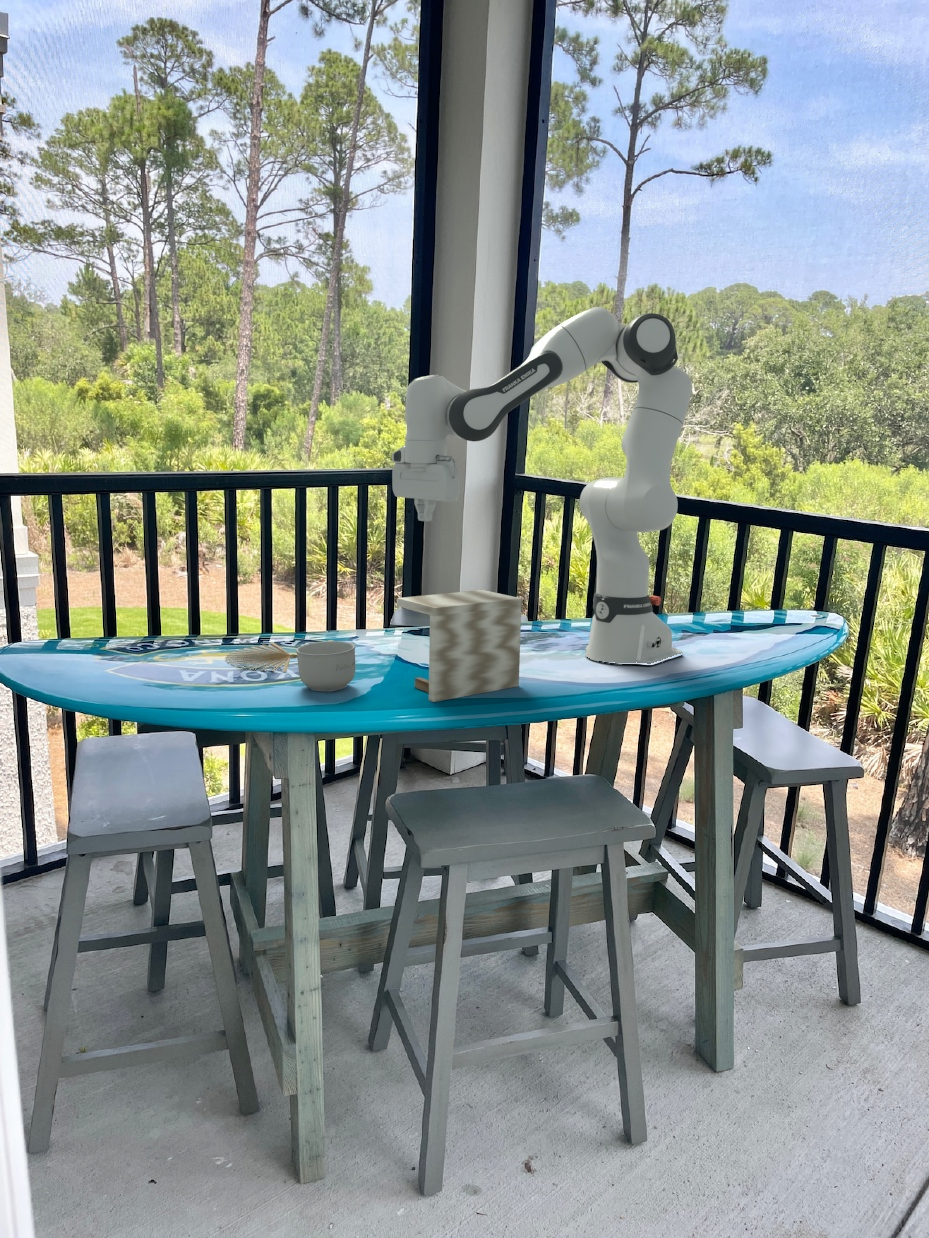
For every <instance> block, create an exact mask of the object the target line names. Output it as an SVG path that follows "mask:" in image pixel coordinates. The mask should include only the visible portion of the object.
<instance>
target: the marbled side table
mask: <svg viewBox="0 0 929 1238" xmlns="http://www.w3.org/2000/svg"><path fill="white" fill-rule="evenodd" d="M396 599H397V600H396V602H397V603H396V605H397V607H399V608H403V609H405V610H406V609H407V610H409V611H413V612H417V613H421V614H425V615H428V616H429V644H428V645H429V649H428V650H429V652H428V654H429V655H428V656H429V660H428V662H429V663H428V679H426V678H423V677H421V676H419V677H415V678H414V688H416V689H418V690H421V691H423V692H425V693H428V701H430V702H432V703H436V702H441V701H445V700H447V701H448V700H452V699H458V698H463V697H468V696H473V695H478V694H483V693H490V692H495V691H501V690H505V689H510V688H516V687H519V684H520V662H521V661H520V660H521V655H520V654H521V633H522V631H521V630H522V625H521V624H522V605H523V604H522V603H523V602H522V599H523V598H521V597H516V596H512V595H507V594H504V593H503V594H502V593H498V592H495V591H494V592H493V591H490V590H484V589H476V590H466V591H458V592H457V591H456V592H447V593H446V592H445V593H436V594H426V595H416V596H406V597H397V598H396Z"/></svg>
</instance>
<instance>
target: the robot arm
mask: <svg viewBox="0 0 929 1238" xmlns="http://www.w3.org/2000/svg"><path fill="white" fill-rule="evenodd" d="M676 343H677V339H676V333H675V329H674V326H673V324H672V322H671V321H670V320H668V318H666V317H665V316H663V315H661V314H659V313H655V312H653V313H652V312H651V313H650V312H649V313H644V314H640V315H638V316H636V317H634V318H633V319H632V320H630V322H629V323H628V325H627V326H626V324H625V325H624V324H622V323H620V322H619V321H618V319H617V318H616V317H615V316H614V314H613V313H612V312H611V311H610V310H608V309H607V308H604V307H601V306H594V307H591V308H589V309H586V310H584V311H582V312H580V313H578V314H575V315H573V316H572V317H570V318H568V319H566V320H564V321H562V322H561V323H559V324H557V325H556V326H555V327H553V328H552V329H550V330H548V332H547V333H545V334H544V335H542V337H540V338H539V339H538V340H537V342H536V343H535V344H534V345H532V347H531V349H530V353H529V355H528V356H527V358H526V360H525V361H524V362H522V363H521V364H520V365H519V366H518V367H516V368H515V369H513V370H512V371H510V372H509V373H508V374H505V375H504V376H503V377H501V378H500V379H499V380H497V381H496V382H495V383H492V384H490V385H489V386H486V387H479V388H473V389H468V390H465V389H464V388H461V387H459V386H457V385H456V384H454V383H452V382H451V381H449V380H448V379H446V378H445V376H444V375H441V374H432V375H426V376H420V377H417V378H414V379H413V380H412V381H411V382H410V383H408V384H409V385H408V386H407V388H406V389H407V390H406V395H405V407H404V409H405V411H404V420H405V425H406V434H405V437H404V445H403V446H401V447H400V448H398V449H396V450H395V451H393V452H392V453H391V461H392V463H394V465H393V467H392V473H391V474H392V476H391V477H392V478H391V479H392V480H391V481H392V483H391V484H392V486H391V487H392V492H393V495H394V496H395V497H397V498H405V499H414V502H413V503H414V506H415V510H416V512H417V521H421V522H432V521H433V514H434V511H435V508H436V506H437V501H438V502H447V503H449V502H458V500H459V498H460V494H461V492H460V488H461V487H460V486H461V485H460V475H459V470H458V467H457V462H456V461H455V459H454V458H453V456H451V455H448V448H447V447H448V437H449V436H451V437H452V436H453V437H456V438H458V439H461V440H464V441H468V442H480V441H484V440H487V439H488V438H489V437H490V436H492V435H493V434H494V433H495V432H496V430H497V429H498V428H499V426H500V424H501V423H502V421H503V420H504V418H505V417H506V415H507V414H509V412H511V411H512V410H513V409H515V408H517V407H518V406H519V405H521V404H522V403H524V402H526V401H527V400H528V399H530V398H531V397H533V396H534V395H536V394H537V393H540V392H541V391H543V390H545V389H549V388H552V387H557V386H559V385H562V384H564V383H566V382H569V381H571V380H574V378H576V377H578V376H580V375H581V374H583V373H585V372H587V370H589V369H591V368H592V367H593V366H595V365H596V364H598V363H601V364H602V365H603V366H605V367H606V368H607V370H609V371H610V372H611V373H612V374H613V375H614V376H615V378H618V380H620V381H622V382H624V383H628V384H629V383H630V384H635V383H638V393H637V398H636V401H635V403H634V405H633V408H632V411H631V414H630V416H629V419H628V421H627V425H626V427H625V431H624V433H623V435H622V438H621V439H622V440H621V447H620V448H621V450H622V452H623V453H624V455H625V458H626V465H625V466H626V467H625V472H624V476H623V477H612V476H607V477H602V478H599V479H595V480H593V481H590V482H589V483H587V484H586V486H584V487H583V489H582V491H581V493H580V496H579V508H580V511H581V514H582V516H583V517H584V518H585V519H586V521H587V523H588V526H589V528H590V530H591V533H592V538H593V542H594V547H595V551H596V553H595V554H596V588H595V590H596V591H595V592H594V594H593V599H592V601H593V604H592V609H593V610H594V614H593V616H592V619H591V625H590V631H589V638H588V644H587V645H586V646H585V651H586V650H587V651H586V652H585V655H586V656H585V657H586V658H587V657H588V658H587V659H589V658H590V659H589V660H592V661H596V662H599V661H605V662H615V663H636V662H637V663H647V664H651V663H654V662H657V661H661V660H663V659H666V658H668V657H672V656H674V655H677V654H681V653H682V654H683V651H682V650H680V649H678V648H675V647H673V633H672V630H671V628H670V627H669V626H668V625H667V624H666V623H665V622H664V621H663V620H662V619H661V618H660V617H658V616H657V615H656V614H655V613H654V612H653V610H654V608H653V605H654V606H660V605H661V602H662V598H661V597H660V596H657V595H653V594H652V595H651V596H650V595H649V579H650V577H649V576H650V566H651V565H650V559H649V555H647V553H646V551H645V550H644V549H643V548H642V545H641V542H640V539H639V535H638V533H642V534H643V533H645V534H647V533H652V532H657V531H663V530H665V529H667V528H668V527H669V526H671V524H672V523H673V522H674V520H675V518H676V515H677V513H678V507H679V506H678V505H679V504H678V502H679V501H678V498H677V495H676V492H675V491H674V490H673V488H672V484H671V465H672V460H673V456H674V452H675V449H676V447H677V444H678V440H679V438H680V435H681V431H682V429H683V425H684V422H685V419H686V417H687V413H688V409H689V405H690V401H691V395H692V388H693V384H692V379H691V377H690V376H689V374H688V373H687V372H686V371H684V370H683V369H681V368H679V367H677V366H675V365H676V363H677V362H678V359H679V356H678V351H677V350H678V349H677V344H676Z"/></svg>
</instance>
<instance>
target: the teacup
mask: <svg viewBox="0 0 929 1238" xmlns="http://www.w3.org/2000/svg"><path fill="white" fill-rule="evenodd" d="M295 653H296V655H297V658H296V659H297V669H298V675H299V679H300V681H301V682H302V684H304V686H306V687H307V688H308V689H310V690H312V691H314V692H320V691H322V692H323V691H324V692H326V691H327V692H335V691H340V690H343V689H344V688H346V687H347V686H348V684H349V683H351V682H352V681H353V679H354V678H355V675H356V646H355V644H354V643H352V642H348V641H339V640H337V641H335V640H334V639H328V640H326V641H318V642H317V641H316V642H310V643H307V644H306V643H305V644H303V645H301V646H299V647H296V650H295ZM324 692H323V693H324Z"/></svg>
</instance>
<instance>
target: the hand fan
mask: <svg viewBox="0 0 929 1238" xmlns="http://www.w3.org/2000/svg"><path fill="white" fill-rule="evenodd" d="M291 659H297V654H294V653H293V654H291V653H288V652H287V651H286V650H285V649H284V648H282V647H281V646H280V645H278V644H277V643H275V642H270V643H269V644H268V645H266V644H263V643H262V645H259V646H256V645H252V646H251V647H245V648H241V649H238V650H236V651H233V652H231V653H228V654H226V657H225V661H227V662H226V663H227V664H228V663H229V665H230V666H232V664H233V665H239V664H246V665H240V667H244V666H248V664H249V665H252V666H248V667H249V668H250V667H256V668H255V670H256V669H257V668H260V667H262V666H263V667H265V668H263V669H261V670H260V672H261V671H263V670H265V669H267V668H269V667H273V666H275V665H276V666H275V667H276V668H275V667H273V670H272V669H271V670H272V671H274V670H275V669H276V670H277V669H278V667H281V668H283V667H285V668H284V670H281V672H282V671H285V673H287V671H288V668H287V667H289V663H290V660H291ZM228 661H229V662H228ZM232 661H235V662H232ZM253 664H257V665H253ZM263 664H265V665H266V666H267V665H270V664H272V665H270V666H267V667H266V666H265V665H263ZM277 664H278V665H277ZM283 664H284V665H283ZM259 665H262V666H259ZM282 665H283V666H282ZM257 666H259V667H257ZM235 667H236V668H237V667H238V666H235ZM248 667H244V668H245V669H246V668H248ZM252 670H254V668H253V669H252ZM255 670H254V671H255ZM276 670H275V671H276ZM265 671H266V670H265Z"/></svg>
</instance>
